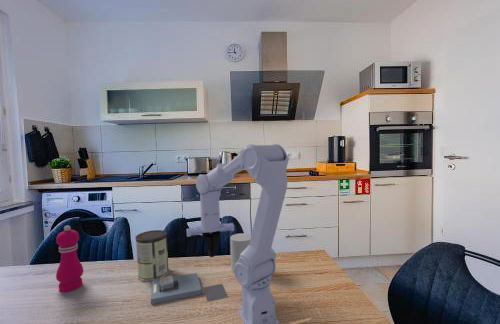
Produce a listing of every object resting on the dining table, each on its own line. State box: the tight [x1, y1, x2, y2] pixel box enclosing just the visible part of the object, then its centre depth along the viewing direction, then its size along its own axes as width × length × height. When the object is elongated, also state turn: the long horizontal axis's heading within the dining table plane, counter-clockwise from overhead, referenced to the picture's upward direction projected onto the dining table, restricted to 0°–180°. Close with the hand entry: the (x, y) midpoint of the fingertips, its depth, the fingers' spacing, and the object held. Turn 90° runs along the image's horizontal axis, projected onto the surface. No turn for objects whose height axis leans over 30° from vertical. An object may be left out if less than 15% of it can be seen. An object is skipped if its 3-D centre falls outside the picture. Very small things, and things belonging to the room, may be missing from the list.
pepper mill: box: [55, 225, 84, 292], centre depth 83 cm, size 7×7×20 cm
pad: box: [203, 283, 229, 303], centre depth 77 cm, size 8×6×1 cm
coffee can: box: [134, 229, 170, 282], centre depth 90 cm, size 10×10×14 cm
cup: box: [229, 232, 252, 275], centre depth 91 cm, size 8×8×12 cm
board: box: [150, 272, 202, 305], centre depth 79 cm, size 11×14×2 cm
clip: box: [159, 275, 175, 292], centre depth 79 cm, size 4×4×4 cm
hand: (211, 255), depth 80 cm, fingers closed
